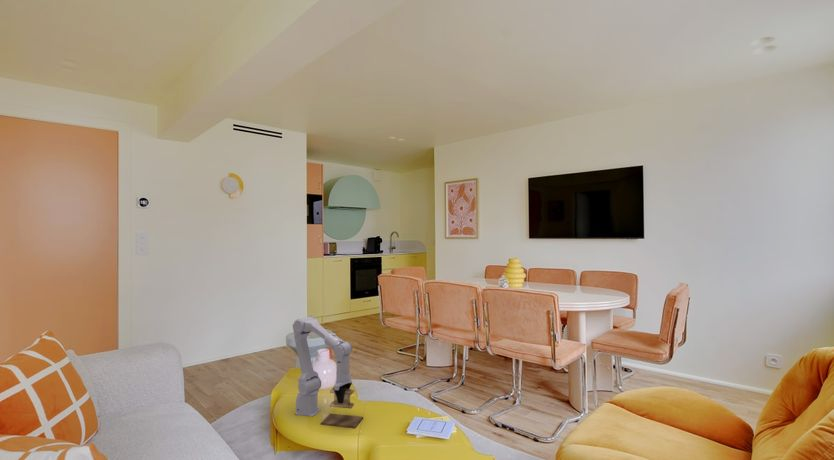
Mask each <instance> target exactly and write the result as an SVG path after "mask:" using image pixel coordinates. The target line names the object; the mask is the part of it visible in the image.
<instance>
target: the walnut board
mask: <svg viewBox="0 0 834 460" xmlns="http://www.w3.org/2000/svg"><path fill="white" fill-rule="evenodd" d="M362 420H364V416H362V415H361V416H360V415H350V414H340V413H329V414H328V415H327V416H326V417H325V418H324V419H323V420H322V421H321V422H320V425H321V426H329V427H340V428H346V429H347V428H350V429H356V428H357V427H358V426H359V424H361V422H362Z"/></svg>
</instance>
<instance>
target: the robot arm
mask: <svg viewBox="0 0 834 460" xmlns="http://www.w3.org/2000/svg"><path fill="white" fill-rule="evenodd" d="M292 330H293V334H294V335H293V336H294V342H295V343H294V344H295V347H296V353H297V357H298V362H299V367H300V372H301V375H300V376H299V378H298V379H297V382H298V386H297V389H298V393H297V395H296V398H295V413H294V415H298V416H306V417H314V416H316V415H317V414H318V413H319V412H320V411H321V408H320V407H318V400H319V399H318V398H319V395H318V393H319V392H320V389H321V387H322V380H321V378H320V377H319V373H318V372H316V371H315V370H314V367H313V363H312V357H311V352H310V348H309V344H308V342H309V341H308V336H309V335H310V334H311V333H312V332H313V333H314V334H316V336H319V337H320V338H321V339H323V340H324V345H326V346H328V347H329V349H331V350H332V351H333V354H334V356H335V361H336V369H335V370H336V372H335V373H336V374H335V375H336V378H335V383H334V385H333V387H332V389H333V390H334V392H335V394H336V396H337V401H338V403H341V404H342V403H343V401H344V394H345V391H346V389H351V386H352V384H353V381H352V375H350V363H351V362H350V358H351V357H350V356H351V353H352V352H353V346H352V344H351V343H350V342H349V341H345V340H343V339H341V338H340V337H339V336H337V334H336V333H333V332H329V331H327V329H325V328H324V327H323V326H322V325H321V324H320V323H319V320H318V318H316V317H314V316H308V317H302V318H297V319H295V321H294V322H293V324H292Z"/></svg>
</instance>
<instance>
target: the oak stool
mask: <svg viewBox="0 0 834 460" xmlns="http://www.w3.org/2000/svg"><path fill="white" fill-rule="evenodd" d="M354 392H355V388H350V389H346V391H345V394H344V401H343V403H342V404H341V403H338V401H337V396H336V394H335V392H334V390H333V388H331V389H330V390H329V393H330V394H333V399H334V400H333V401H331V403H329V407H331V408H339V409H340V408H341V409H352V408H353V407H354V406H355V402H351V395H353V394H354Z"/></svg>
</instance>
